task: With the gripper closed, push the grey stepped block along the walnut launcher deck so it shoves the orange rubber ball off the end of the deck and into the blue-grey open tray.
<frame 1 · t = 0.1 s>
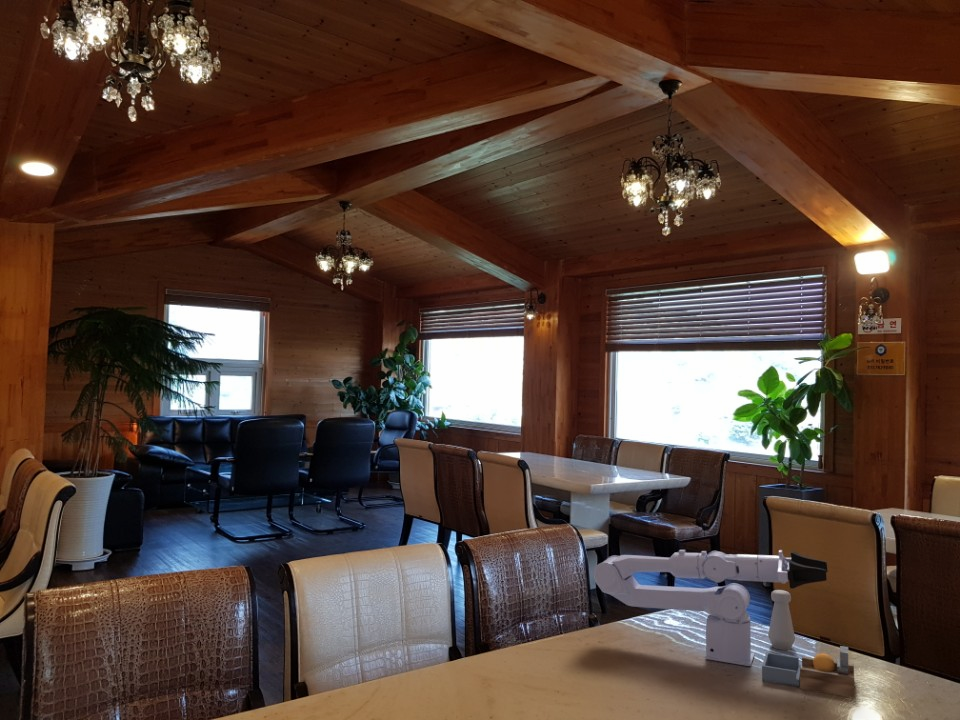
hand: (826, 570, 154), 22 cm above the table, tool horizontal, fingers open, 7 cm apart
grey stepped block: (842, 662, 146), point 5 cm above the table, slide at 0.0 cm
ball: (823, 663, 148), point 4 cm above the table, touching launcher
launcher: (827, 684, 147), on the table
blue-grey open tray: (782, 676, 151), on the table
salt shaker: (781, 648, 169), on the table
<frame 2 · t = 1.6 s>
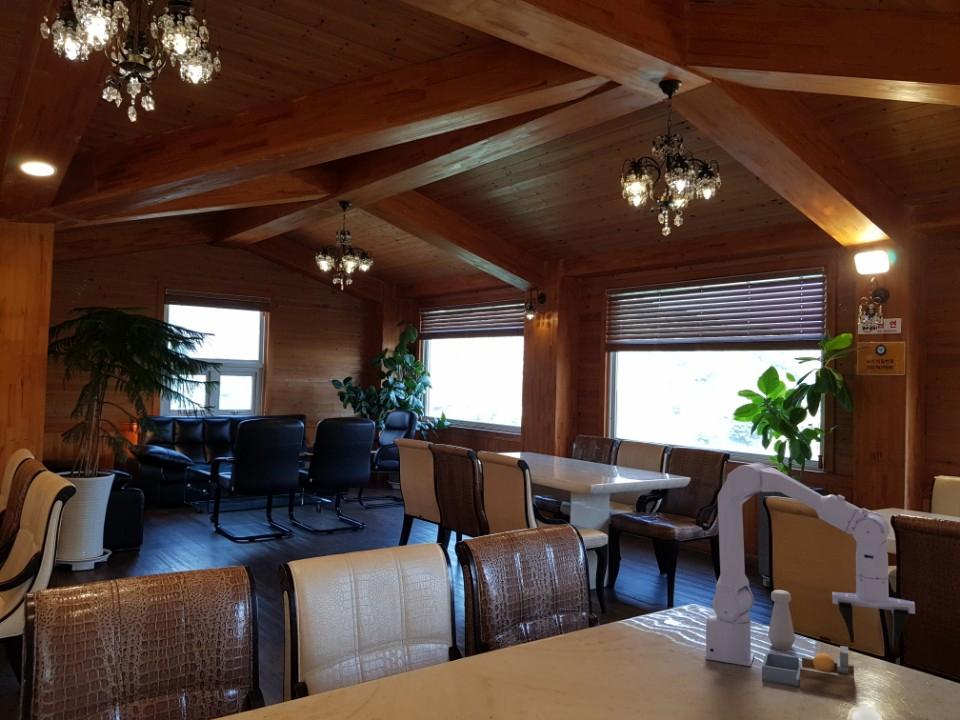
hand: (873, 644, 144), 9 cm above the table, tool pointing down, fingers open, 7 cm apart
nothing on the table moved.
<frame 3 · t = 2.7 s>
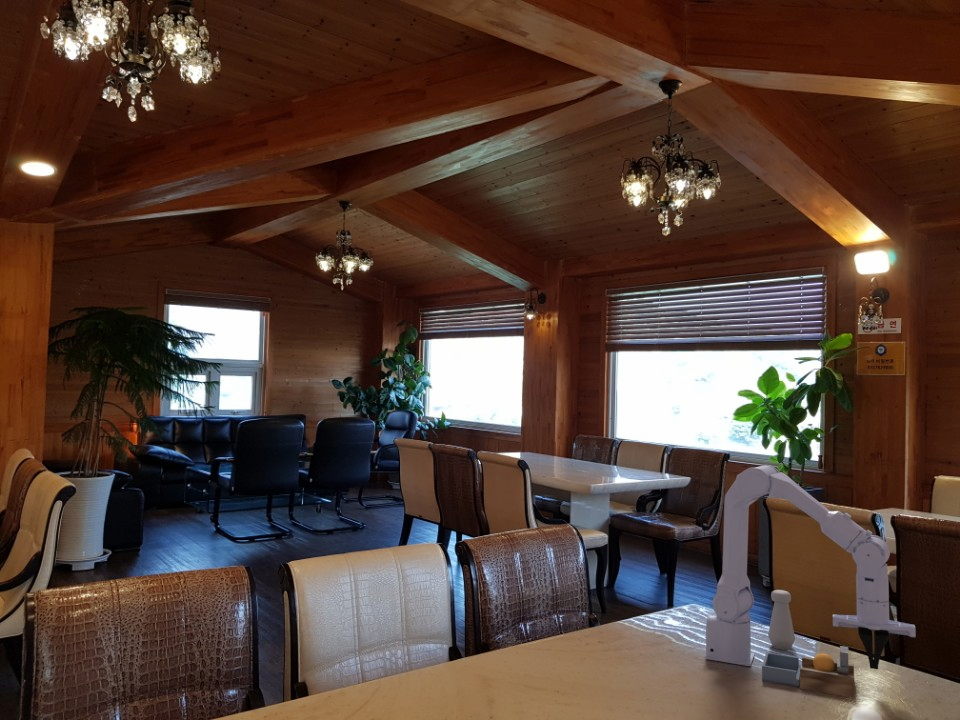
hand: (873, 667, 144), 5 cm above the table, tool pointing down, fingers closed
nothing on the table moved.
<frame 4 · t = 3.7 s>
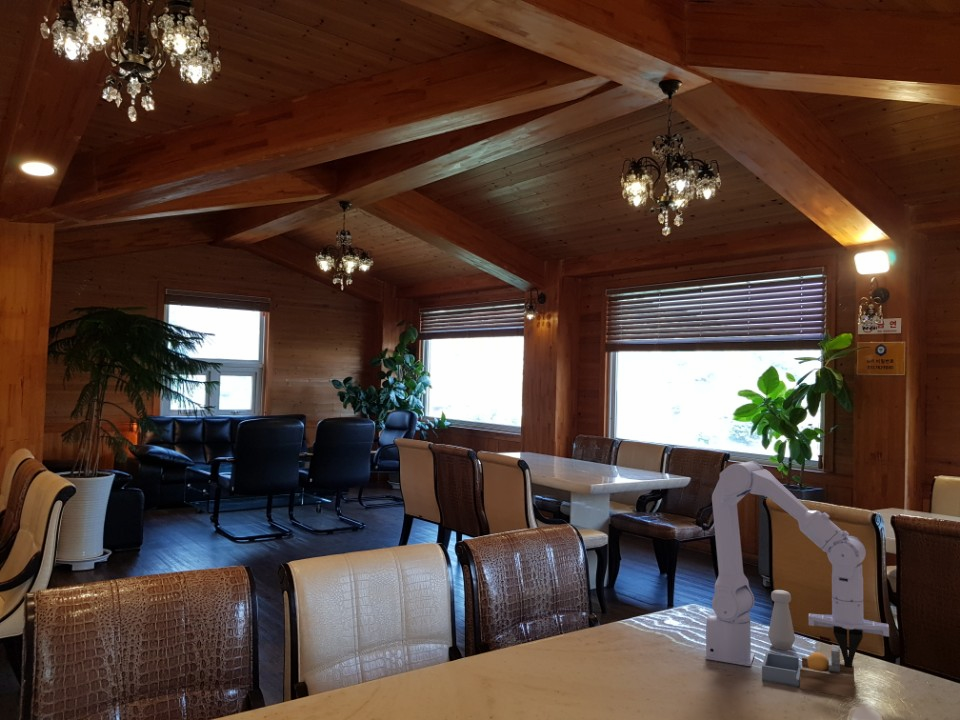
hand: (848, 665, 146), 4 cm above the table, tool pointing down, fingers closed
grey stepped block: (834, 661, 147), point 5 cm above the table, slide at 1.6 cm, touching gripper
ball: (818, 662, 148), point 4 cm above the table, tilted 30°, touching launcher
everything else where it was.
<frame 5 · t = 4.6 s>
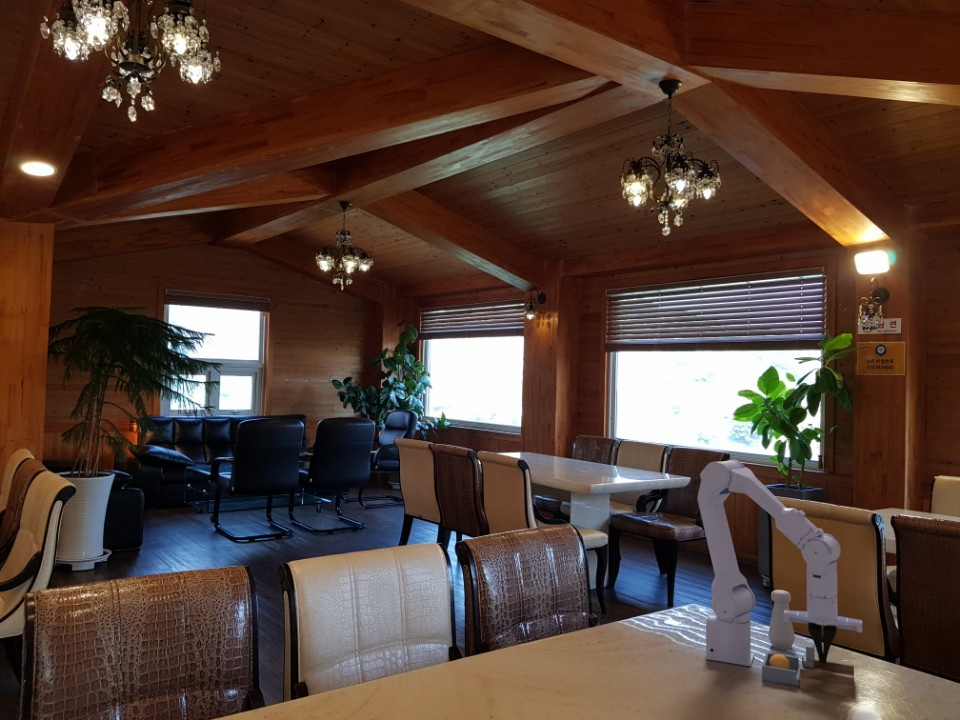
hand: (822, 661, 148), 4 cm above the table, tool pointing down, fingers closed
grey stepped block: (809, 657, 149), point 5 cm above the table, slide at 6.2 cm, touching gripper
ball: (779, 664, 151), point 2 cm above the table, tilted 93°, touching blue-grey open tray
everything else where it was.
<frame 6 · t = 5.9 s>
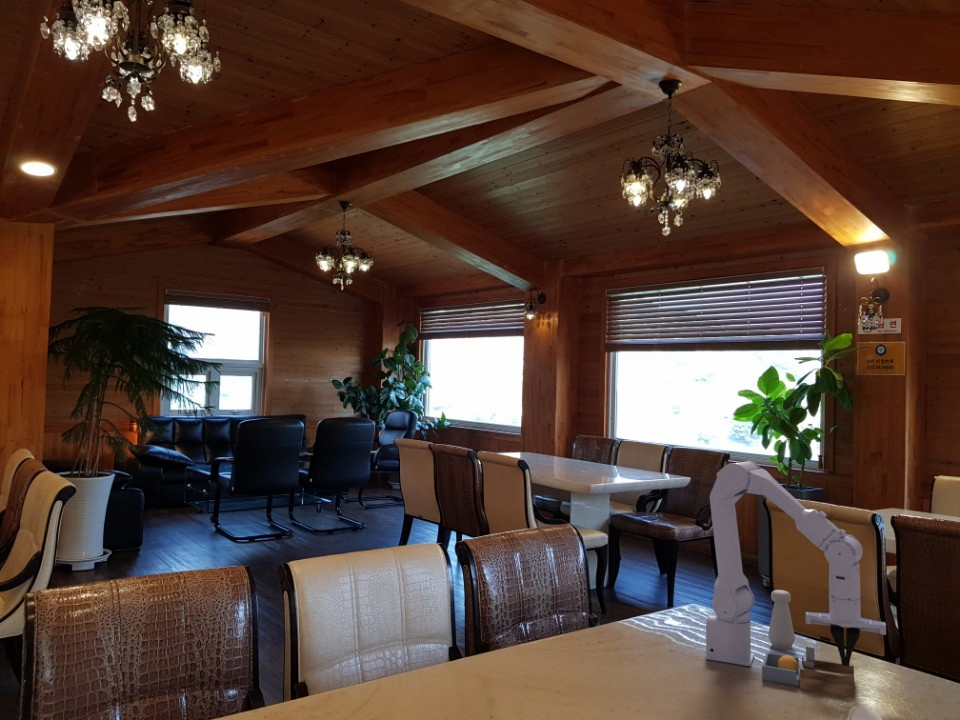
hand: (845, 664, 146), 5 cm above the table, tool pointing down, fingers closed
grey stepped block: (809, 657, 149), point 5 cm above the table, slide at 6.3 cm
ball: (788, 665, 151), point 2 cm above the table, tilted 142°, touching blue-grey open tray
everything else where it was.
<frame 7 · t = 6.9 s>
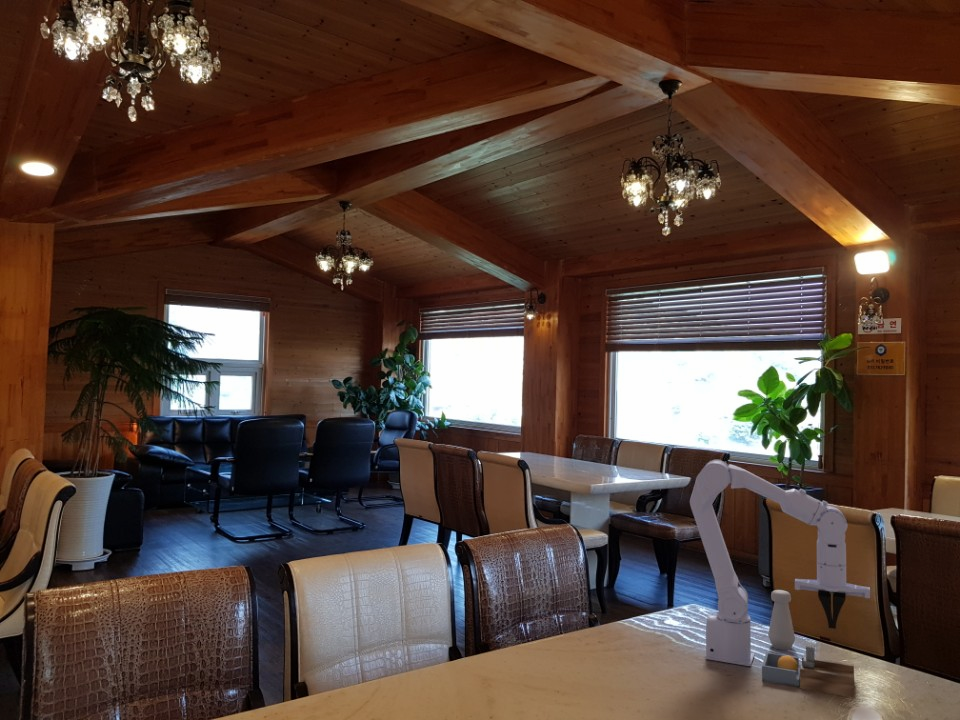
hand: (832, 627, 154), 9 cm above the table, tool pointing down, fingers closed
nothing on the table moved.
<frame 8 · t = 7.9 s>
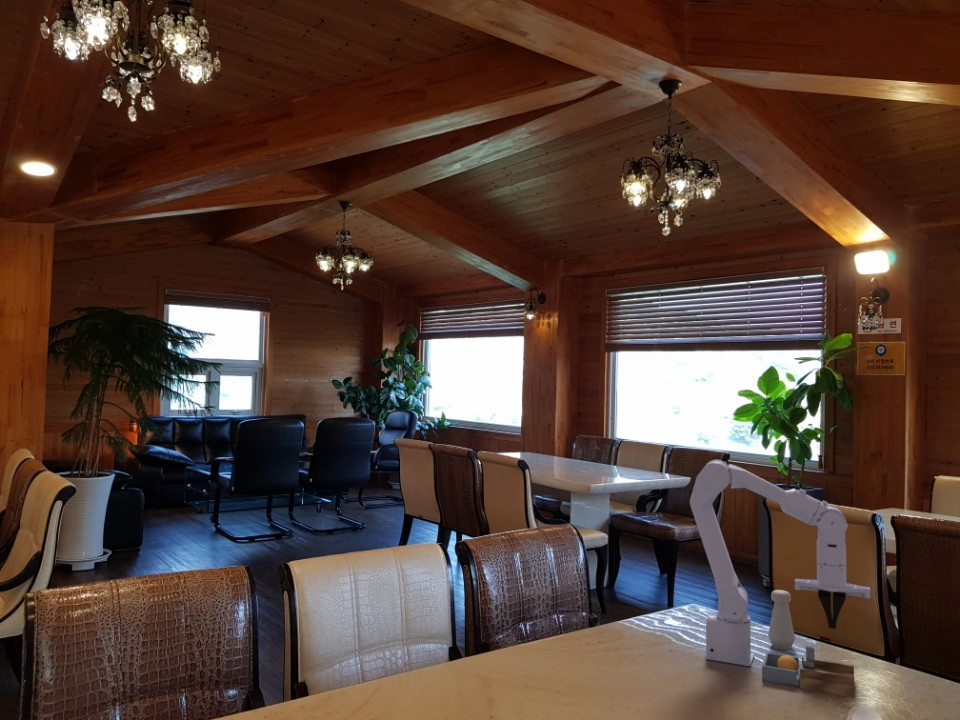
hand: (832, 627, 154), 9 cm above the table, tool pointing down, fingers closed
nothing on the table moved.
at the end: ball inside the target area on the blue-grey open tray (1.1 cm from its centre), point 2.4 cm above the blue-grey open tray's base; grey stepped block slide at 6.3 cm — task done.
